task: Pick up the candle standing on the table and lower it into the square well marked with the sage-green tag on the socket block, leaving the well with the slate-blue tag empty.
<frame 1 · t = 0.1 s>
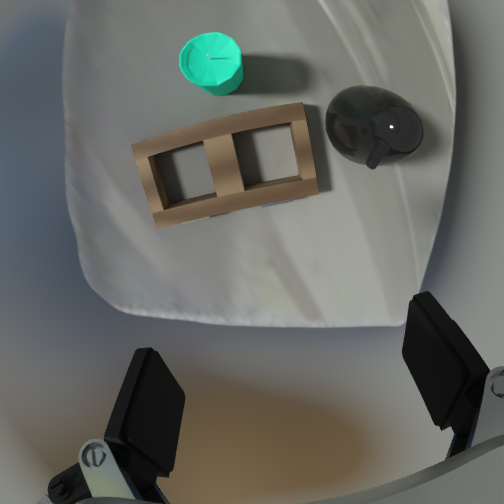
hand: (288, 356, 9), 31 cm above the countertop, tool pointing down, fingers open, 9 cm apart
pump dispenser: (352, 124, 34), on the countertop
candle: (220, 74, 31), on the countertop
socket block: (225, 162, 36), on the countertop
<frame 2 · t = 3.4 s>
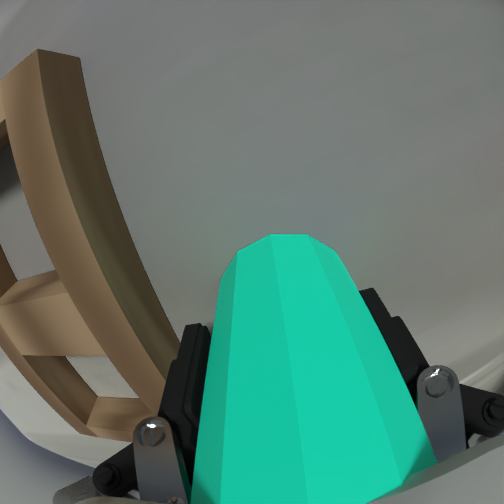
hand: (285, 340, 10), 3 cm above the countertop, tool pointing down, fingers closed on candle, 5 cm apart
candle: (284, 290, 13), on the countertop, touching gripper
socket block: (64, 297, 13), on the countertop
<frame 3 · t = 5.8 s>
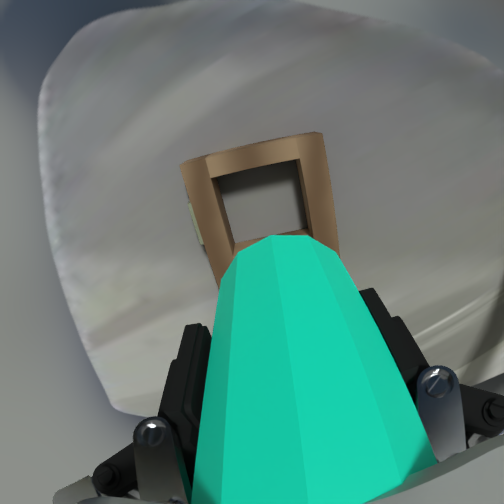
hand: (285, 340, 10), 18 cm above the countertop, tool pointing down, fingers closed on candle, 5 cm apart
candle: (284, 291, 13), point 15 cm above the countertop, touching gripper
socket block: (274, 251, 29), on the countertop
when the fingers open (4 cm above the countertop, at t = 8.0 s): candle drops 1 cm, resting in socket block.
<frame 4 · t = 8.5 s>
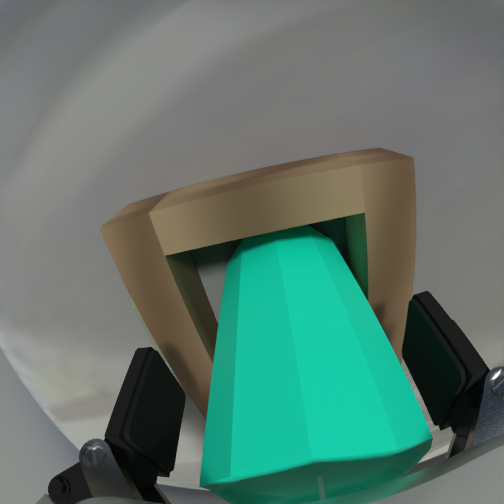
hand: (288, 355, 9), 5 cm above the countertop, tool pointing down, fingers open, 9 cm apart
candle: (285, 275, 14), resting in socket block
socket block: (292, 351, 17), on the countertop
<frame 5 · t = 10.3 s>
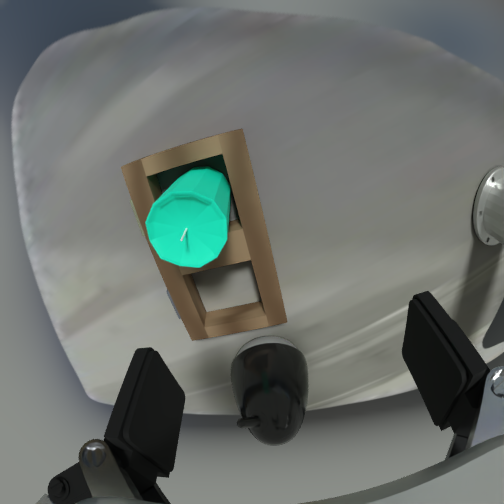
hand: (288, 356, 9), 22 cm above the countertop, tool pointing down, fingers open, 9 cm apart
pump dispenser: (265, 349, 39), on the countertop
candle: (203, 193, 29), resting in socket block
socket block: (213, 241, 31), on the countertop
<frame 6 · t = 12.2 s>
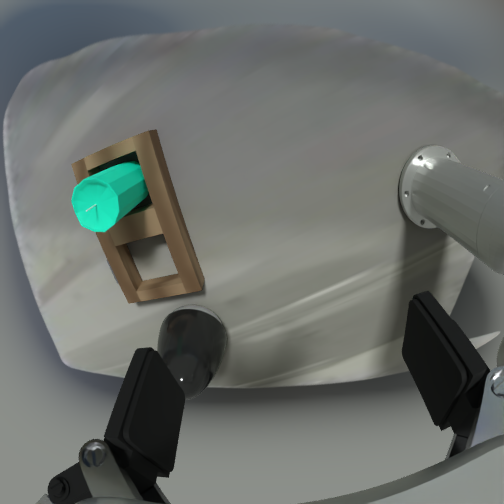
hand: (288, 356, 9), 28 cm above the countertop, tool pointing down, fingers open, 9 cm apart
pump dispenser: (196, 318, 45), on the countertop
candle: (131, 182, 35), resting in socket block
socket block: (141, 219, 37), on the countertop
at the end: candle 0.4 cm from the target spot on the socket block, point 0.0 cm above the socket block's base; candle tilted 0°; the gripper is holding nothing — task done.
